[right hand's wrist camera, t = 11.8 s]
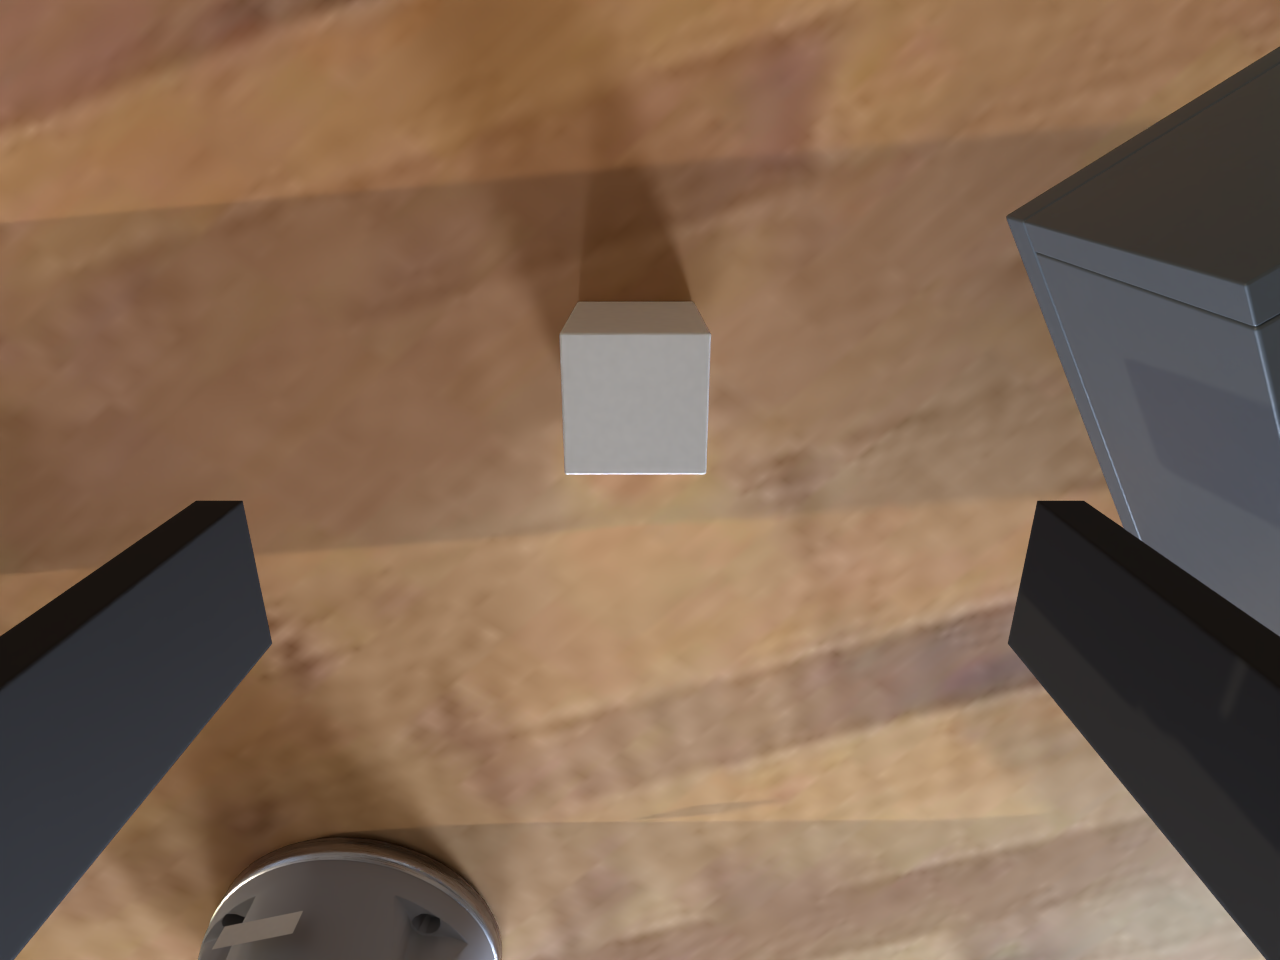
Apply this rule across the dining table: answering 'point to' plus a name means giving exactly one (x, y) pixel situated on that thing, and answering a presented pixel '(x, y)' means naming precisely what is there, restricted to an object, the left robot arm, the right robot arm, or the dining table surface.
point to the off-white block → (635, 388)
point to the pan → (1179, 329)
